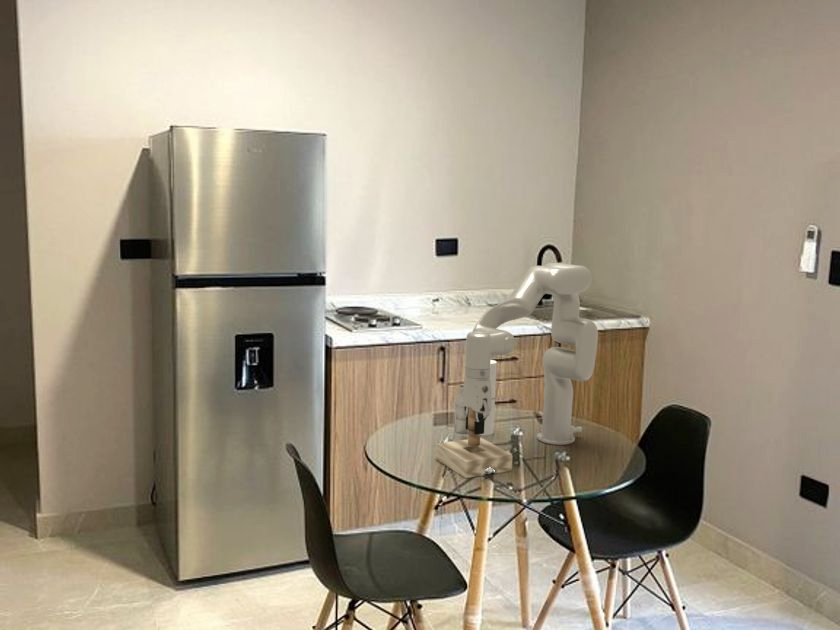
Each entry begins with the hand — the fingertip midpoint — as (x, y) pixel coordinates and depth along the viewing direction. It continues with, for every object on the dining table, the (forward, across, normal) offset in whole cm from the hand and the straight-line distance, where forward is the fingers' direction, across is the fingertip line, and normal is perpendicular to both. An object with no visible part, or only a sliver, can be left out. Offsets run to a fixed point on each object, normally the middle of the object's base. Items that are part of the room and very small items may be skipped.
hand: (474, 430), depth 259 cm
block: (+11, 0, 0) cm, 11 cm away
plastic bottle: (+11, +17, -6) cm, 21 cm away
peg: (+4, 0, 0) cm, 4 cm away
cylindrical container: (+11, +27, -20) cm, 35 cm away
